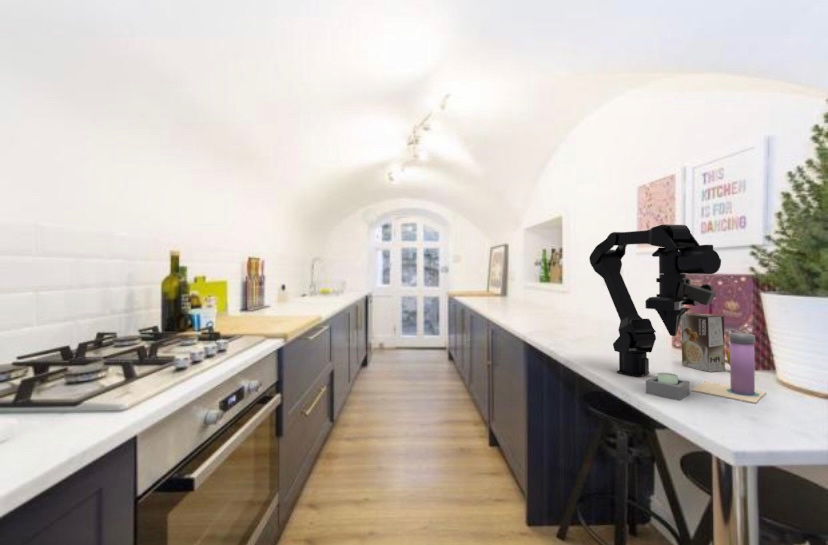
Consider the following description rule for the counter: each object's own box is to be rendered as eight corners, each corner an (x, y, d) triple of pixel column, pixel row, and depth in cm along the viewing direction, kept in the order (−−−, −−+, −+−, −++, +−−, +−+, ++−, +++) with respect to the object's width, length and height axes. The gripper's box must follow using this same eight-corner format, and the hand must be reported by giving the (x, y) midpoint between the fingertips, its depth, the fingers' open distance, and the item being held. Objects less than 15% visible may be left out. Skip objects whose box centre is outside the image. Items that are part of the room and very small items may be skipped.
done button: (655, 391, 93) (655, 374, 93) (661, 387, 96) (661, 371, 96) (674, 395, 90) (674, 378, 90) (680, 391, 93) (680, 374, 93)
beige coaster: (691, 391, 95) (691, 389, 95) (705, 382, 102) (705, 381, 102) (755, 403, 86) (755, 402, 86) (766, 393, 92) (766, 392, 92)
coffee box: (726, 370, 113) (726, 315, 113) (709, 372, 111) (708, 316, 111) (696, 363, 122) (696, 312, 122) (680, 365, 120) (680, 313, 120)
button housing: (645, 393, 94) (645, 380, 94) (657, 387, 98) (657, 375, 98) (679, 400, 88) (679, 387, 88) (689, 394, 93) (689, 381, 93)
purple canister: (727, 392, 93) (727, 334, 93) (732, 388, 96) (732, 332, 96) (752, 396, 89) (752, 336, 89) (757, 392, 92) (756, 334, 92)
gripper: (699, 274, 86) (699, 345, 86) (722, 273, 98) (722, 335, 98) (644, 274, 95) (644, 338, 95) (671, 273, 106) (672, 330, 106)
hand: (673, 335), depth 98 cm, fingers closed
